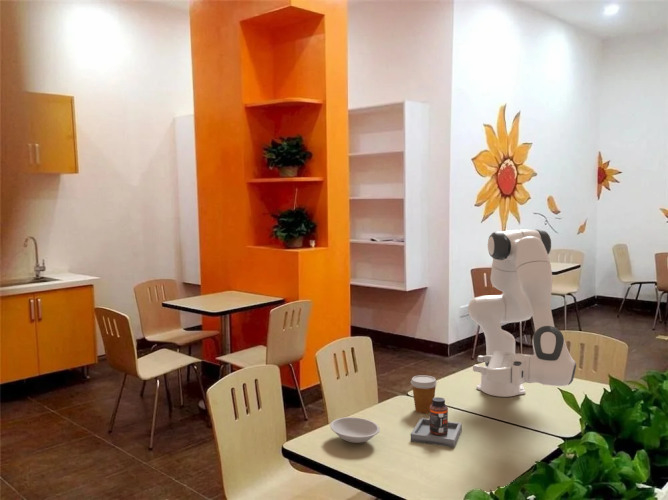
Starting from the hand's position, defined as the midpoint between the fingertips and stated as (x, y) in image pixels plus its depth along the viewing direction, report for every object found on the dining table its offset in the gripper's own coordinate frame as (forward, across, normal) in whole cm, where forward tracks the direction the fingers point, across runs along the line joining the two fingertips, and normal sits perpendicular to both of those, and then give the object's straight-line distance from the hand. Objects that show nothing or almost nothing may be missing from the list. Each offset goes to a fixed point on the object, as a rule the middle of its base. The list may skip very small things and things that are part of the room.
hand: (475, 363), depth 185 cm
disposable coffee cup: (+20, -14, +25) cm, 36 cm away
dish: (+35, +19, +24) cm, 47 cm away
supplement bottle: (+11, +5, +24) cm, 26 cm away
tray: (+11, +6, +24) cm, 27 cm away
